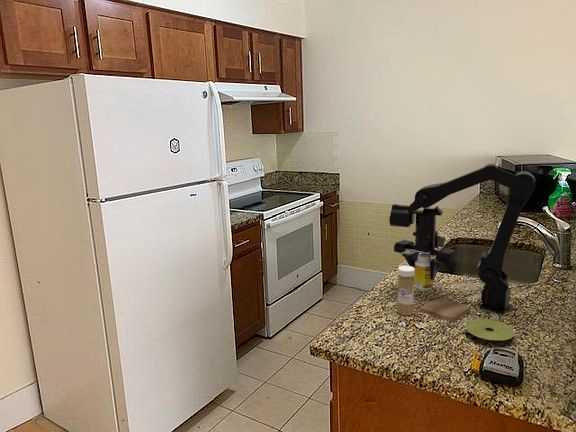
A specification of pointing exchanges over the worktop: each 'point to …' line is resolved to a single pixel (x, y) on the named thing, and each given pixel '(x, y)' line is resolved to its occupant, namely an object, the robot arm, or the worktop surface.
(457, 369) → the worktop surface
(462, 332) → the worktop surface
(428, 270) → the supplement bottle
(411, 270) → the sprinkles bottle
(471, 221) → the worktop surface
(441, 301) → the walnut board
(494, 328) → the yellow-green flat disc
